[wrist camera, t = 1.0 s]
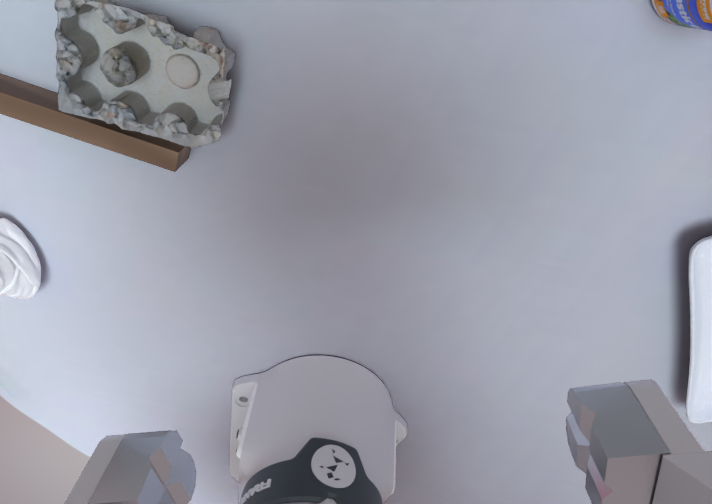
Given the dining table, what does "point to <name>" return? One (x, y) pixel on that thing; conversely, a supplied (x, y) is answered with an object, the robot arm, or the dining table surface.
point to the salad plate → (700, 333)
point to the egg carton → (141, 72)
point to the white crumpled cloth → (17, 263)
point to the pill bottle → (686, 12)
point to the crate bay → (85, 125)
